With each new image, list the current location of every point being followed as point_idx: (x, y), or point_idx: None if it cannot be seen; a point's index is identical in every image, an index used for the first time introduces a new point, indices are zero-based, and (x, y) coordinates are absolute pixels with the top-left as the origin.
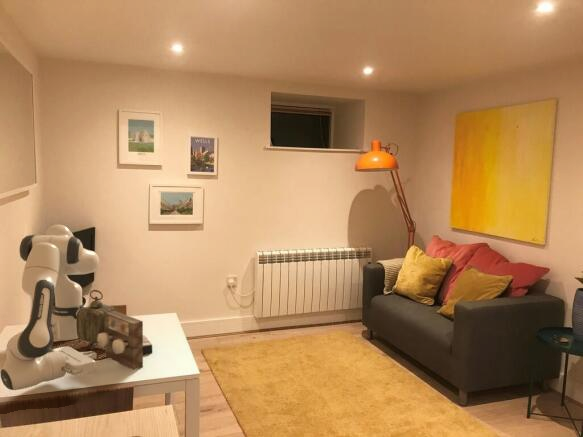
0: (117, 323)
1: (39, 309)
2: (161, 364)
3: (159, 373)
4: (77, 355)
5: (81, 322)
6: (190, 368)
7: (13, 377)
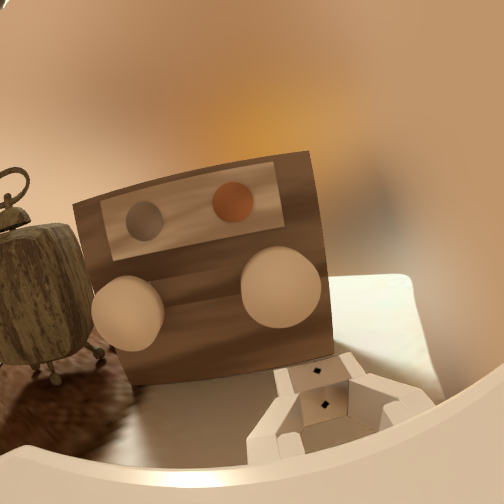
0: (178, 202)
1: None
2: (331, 306)
3: (396, 309)
4: (454, 477)
5: None
6: (386, 276)
7: None
